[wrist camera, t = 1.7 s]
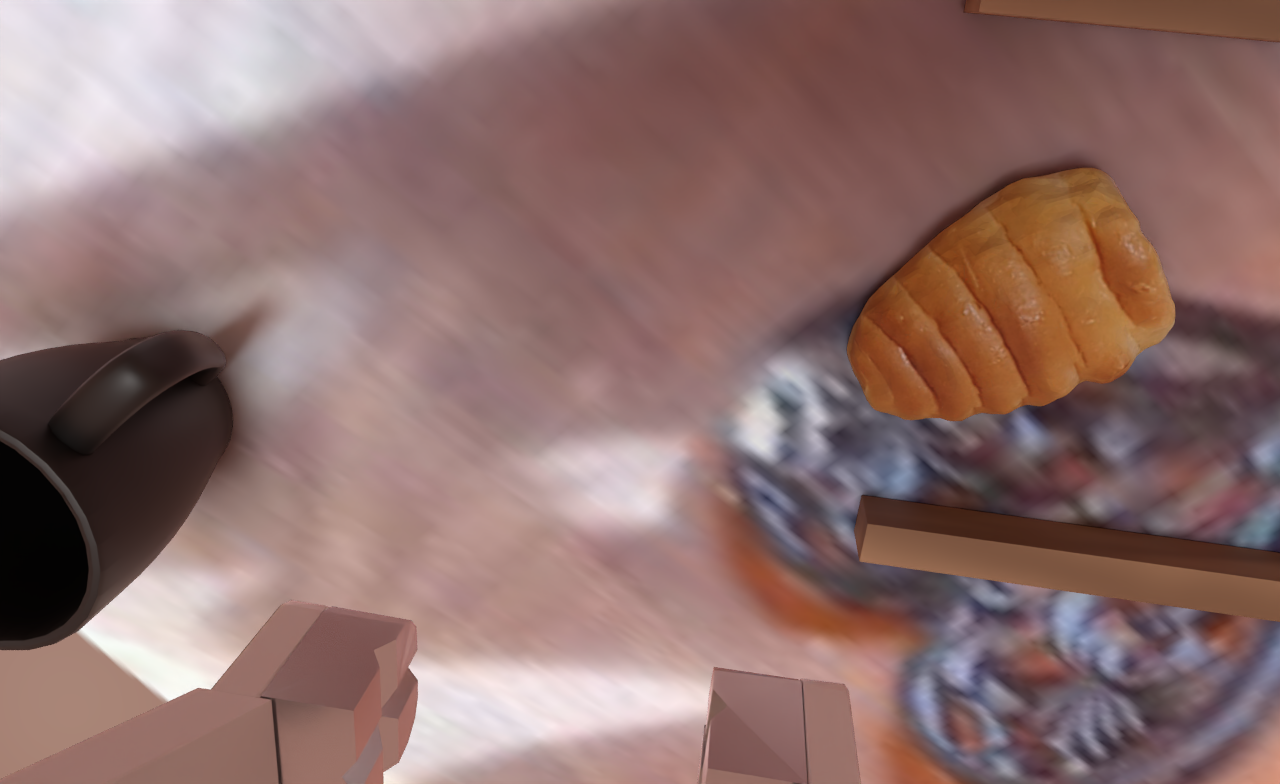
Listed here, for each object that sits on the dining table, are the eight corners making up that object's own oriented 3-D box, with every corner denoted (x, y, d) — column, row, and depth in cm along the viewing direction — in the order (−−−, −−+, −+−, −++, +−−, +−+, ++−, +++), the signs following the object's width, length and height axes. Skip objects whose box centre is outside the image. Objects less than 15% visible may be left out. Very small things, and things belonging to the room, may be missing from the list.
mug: (379, 376, 33) (242, 504, 24) (176, 534, 37) (-4, 694, 28) (217, 194, 31) (7, 263, 23) (22, 381, 35) (-222, 501, 26)
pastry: (900, 447, 32) (916, 499, 28) (806, 287, 30) (811, 321, 27) (1170, 317, 29) (1226, 357, 26) (1083, 132, 27) (1129, 148, 24)
